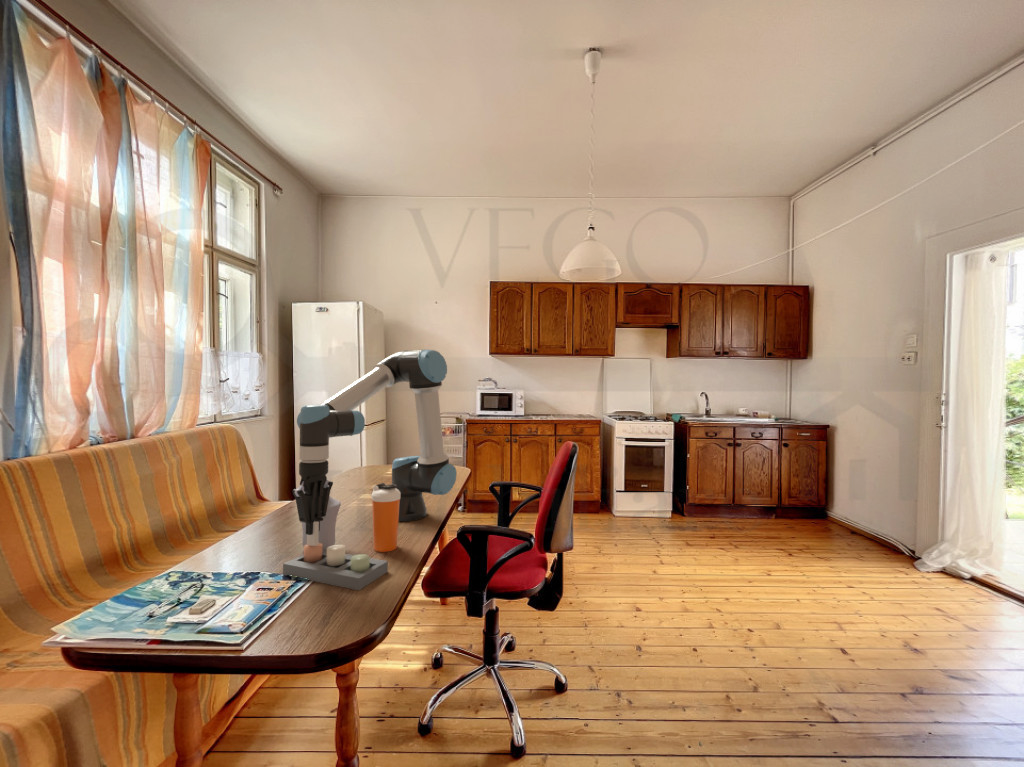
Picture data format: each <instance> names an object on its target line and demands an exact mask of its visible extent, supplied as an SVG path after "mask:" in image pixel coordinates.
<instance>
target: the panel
mask: <svg viewBox="0 0 1024 767" xmlns="http://www.w3.org/2000/svg"><path fill="white" fill-rule="evenodd" d="M355 555H356V554H350V553H345V563H343V564H341V565H337V566H329V565H327V550H322V560H320V561H318V562H316V563H307V562H304V553H303V554H301V555H299V556H297V557H295V558H293V559H291V560H288V561H286V562H284V563H282V575H283V576H287V575H292V576H297V577H302V578H307V579H309V580H308V581H311V582H317V583H322V584H327V585H331V586H336V587H341V588H346V589H350V590H355V591H360V590H362V589H364V588H365V587H367V586H368V585H370V584H371V583H372V582H374V581H376V580H377V579H380V578H381V577H382V576H383V575H386V574H387V573H388V572H389V570H388V569H389V567H388V566H389V565H388V564H389V561H388V560H385V559H383V560H382V559H379V558H373V557H370V568H369V569H368V570H366V571H364V572H363V573H360V572H355V571H351V557H353V556H355Z"/></svg>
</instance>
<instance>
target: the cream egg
mask: <svg viewBox="0 0 1024 767" xmlns="http://www.w3.org/2000/svg"><path fill="white" fill-rule="evenodd" d="M345 554H346V545H345V544H334V545H332V546H329V547H328V548H327V565H329V566H337V565H341V564H343V563H345Z"/></svg>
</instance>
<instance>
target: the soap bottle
mask: <svg viewBox="0 0 1024 767" xmlns="http://www.w3.org/2000/svg"><path fill="white" fill-rule="evenodd" d="M341 504H342V503H341V500H338V499H336V498H333V497H332V496H331V495H329V501H328V506H327V512H326V516H325V517H322V518H323V521H320V530H319V538H318V543H322V550H327V548H328V547H329V546H332V545H336V544H335V543H336V524H337V518H338V515H339V511H340V508H341V506H342V505H341ZM301 527H302V548H303V549H304V546H305V545H306V544H307V534H306V523H305V522H301Z"/></svg>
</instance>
